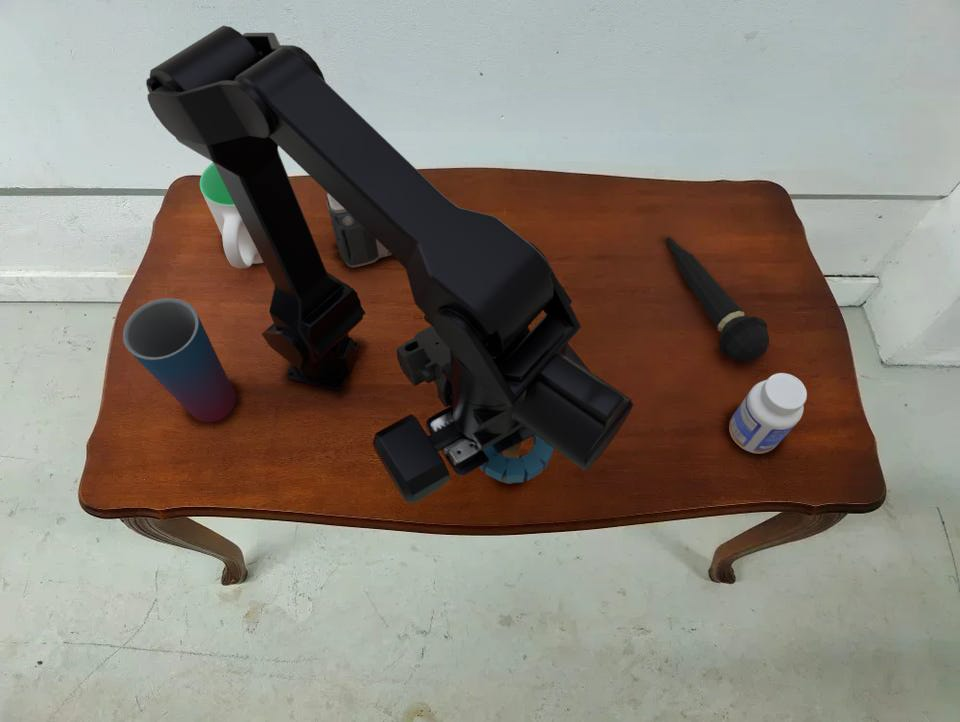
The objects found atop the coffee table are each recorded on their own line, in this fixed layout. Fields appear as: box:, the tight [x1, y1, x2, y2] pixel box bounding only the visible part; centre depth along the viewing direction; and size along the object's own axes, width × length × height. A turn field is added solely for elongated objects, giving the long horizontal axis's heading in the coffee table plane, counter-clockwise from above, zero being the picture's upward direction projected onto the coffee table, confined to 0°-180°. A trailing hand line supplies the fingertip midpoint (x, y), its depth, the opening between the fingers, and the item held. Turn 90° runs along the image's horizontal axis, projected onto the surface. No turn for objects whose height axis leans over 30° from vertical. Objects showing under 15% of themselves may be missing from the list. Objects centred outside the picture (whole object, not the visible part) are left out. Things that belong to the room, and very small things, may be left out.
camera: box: [325, 192, 393, 269], centre depth 85 cm, size 11×6×10 cm, turn 106°
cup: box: [122, 297, 237, 423], centre depth 71 cm, size 7×7×15 cm
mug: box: [199, 162, 264, 269], centre depth 84 cm, size 12×8×10 cm
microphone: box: [665, 237, 770, 363], centre depth 84 cm, size 6×6×20 cm
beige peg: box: [501, 442, 522, 484], centre depth 70 cm, size 3×3×10 cm
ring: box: [479, 435, 555, 484], centre depth 67 cm, size 8×8×2 cm
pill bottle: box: [728, 372, 808, 455], centre depth 73 cm, size 5×5×10 cm
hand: (485, 454), depth 66 cm, fingers closed on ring, 2 cm apart
